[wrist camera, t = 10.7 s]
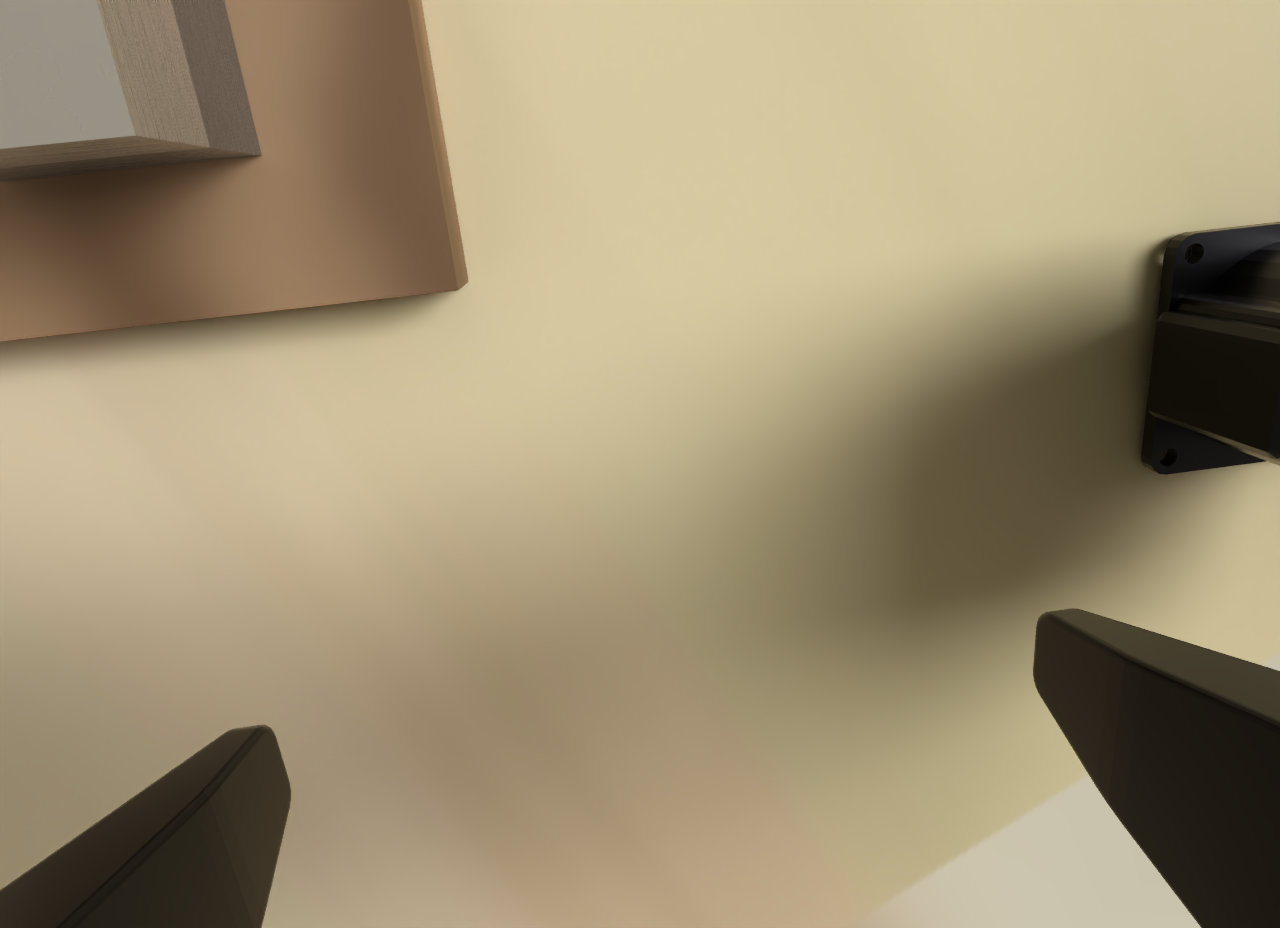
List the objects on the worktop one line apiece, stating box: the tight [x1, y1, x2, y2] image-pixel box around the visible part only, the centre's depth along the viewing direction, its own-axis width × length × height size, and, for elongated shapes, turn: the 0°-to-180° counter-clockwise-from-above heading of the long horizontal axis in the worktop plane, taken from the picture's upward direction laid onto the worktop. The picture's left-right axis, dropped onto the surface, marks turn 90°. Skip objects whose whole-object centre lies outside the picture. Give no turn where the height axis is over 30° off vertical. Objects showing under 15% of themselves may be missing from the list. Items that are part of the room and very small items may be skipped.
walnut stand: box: [0, 0, 468, 341], centre depth 16 cm, size 12×12×2 cm
